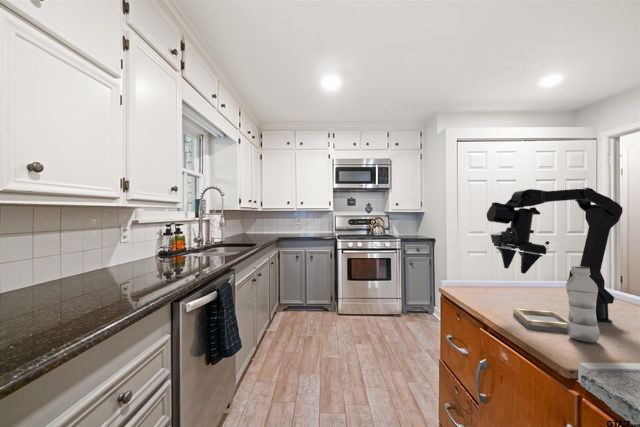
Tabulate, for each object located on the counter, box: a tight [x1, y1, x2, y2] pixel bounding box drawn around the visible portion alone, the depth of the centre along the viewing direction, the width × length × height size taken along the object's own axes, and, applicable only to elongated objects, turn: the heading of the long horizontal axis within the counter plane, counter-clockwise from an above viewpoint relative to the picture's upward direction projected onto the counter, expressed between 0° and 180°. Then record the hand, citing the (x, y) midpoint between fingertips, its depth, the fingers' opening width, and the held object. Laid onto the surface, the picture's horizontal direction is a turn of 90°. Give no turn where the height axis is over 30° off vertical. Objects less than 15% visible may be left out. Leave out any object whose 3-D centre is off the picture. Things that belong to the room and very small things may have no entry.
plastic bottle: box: [565, 265, 601, 344], centre depth 74 cm, size 6×7×20 cm
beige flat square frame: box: [512, 308, 568, 333], centre depth 85 cm, size 12×12×2 cm
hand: (514, 270), depth 92 cm, fingers open, 9 cm apart
